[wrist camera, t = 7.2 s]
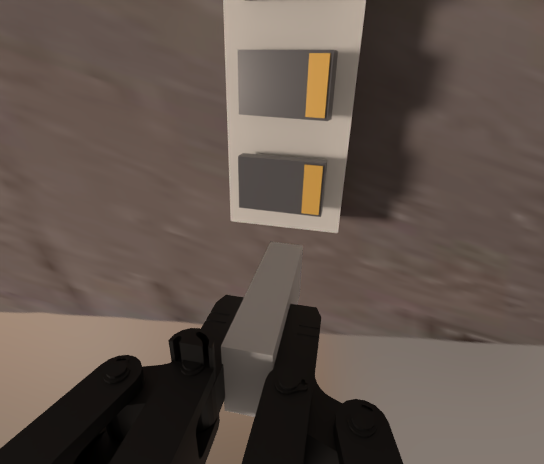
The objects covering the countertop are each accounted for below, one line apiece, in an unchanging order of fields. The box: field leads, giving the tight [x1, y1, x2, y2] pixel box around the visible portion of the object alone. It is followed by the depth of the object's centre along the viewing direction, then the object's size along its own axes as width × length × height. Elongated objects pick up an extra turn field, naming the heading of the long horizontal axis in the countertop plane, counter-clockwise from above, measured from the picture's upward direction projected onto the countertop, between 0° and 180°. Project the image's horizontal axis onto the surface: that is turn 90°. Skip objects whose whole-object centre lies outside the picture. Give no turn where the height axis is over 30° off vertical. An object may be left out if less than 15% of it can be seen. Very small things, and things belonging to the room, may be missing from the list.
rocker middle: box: [238, 50, 338, 121], centre depth 24 cm, size 4×7×1 cm, turn 89°
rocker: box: [238, 153, 327, 217], centre depth 27 cm, size 4×7×1 cm, turn 89°
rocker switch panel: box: [223, 0, 366, 233], centre depth 26 cm, size 30×10×4 cm, turn 179°
